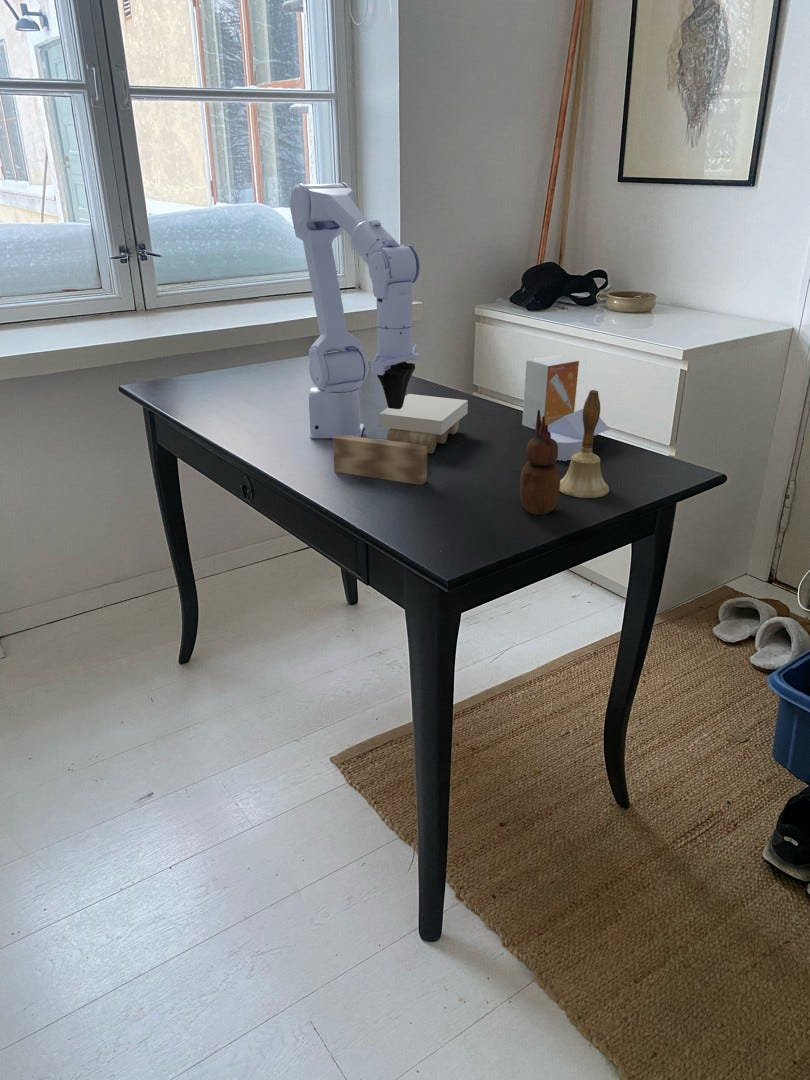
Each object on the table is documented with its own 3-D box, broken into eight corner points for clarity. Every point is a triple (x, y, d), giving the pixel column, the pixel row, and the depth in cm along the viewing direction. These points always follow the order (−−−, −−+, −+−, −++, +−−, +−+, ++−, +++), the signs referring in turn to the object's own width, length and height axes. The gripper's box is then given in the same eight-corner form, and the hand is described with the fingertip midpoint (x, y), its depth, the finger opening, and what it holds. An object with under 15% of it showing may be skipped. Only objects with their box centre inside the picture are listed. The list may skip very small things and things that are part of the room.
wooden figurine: (516, 501, 126) (522, 406, 120) (554, 501, 126) (561, 407, 119) (520, 519, 120) (526, 420, 113) (560, 519, 120) (568, 420, 113)
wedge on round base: (566, 436, 155) (525, 452, 146) (569, 401, 152) (527, 416, 143) (607, 446, 149) (568, 464, 141) (611, 411, 146) (571, 427, 138)
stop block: (334, 471, 138) (332, 437, 135) (339, 467, 140) (338, 434, 137) (422, 485, 132) (422, 449, 130) (426, 480, 134) (427, 446, 131)
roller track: (366, 466, 140) (366, 444, 138) (420, 425, 161) (420, 406, 159) (409, 472, 137) (409, 450, 136) (458, 430, 158) (459, 410, 156)
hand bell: (583, 476, 136) (592, 381, 129) (620, 491, 130) (632, 393, 123) (545, 486, 132) (553, 389, 125) (581, 502, 125) (591, 401, 119)
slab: (379, 426, 147) (378, 413, 146) (408, 406, 159) (408, 393, 158) (441, 434, 143) (441, 420, 142) (467, 413, 155) (467, 400, 153)
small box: (543, 433, 156) (548, 365, 150) (521, 425, 161) (525, 359, 155) (574, 426, 160) (580, 360, 154) (551, 418, 165) (556, 353, 159)
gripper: (399, 336, 124) (400, 422, 130) (434, 319, 136) (433, 399, 142) (357, 332, 126) (360, 417, 132) (395, 316, 139) (395, 395, 144)
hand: (395, 407), depth 137 cm, fingers closed
